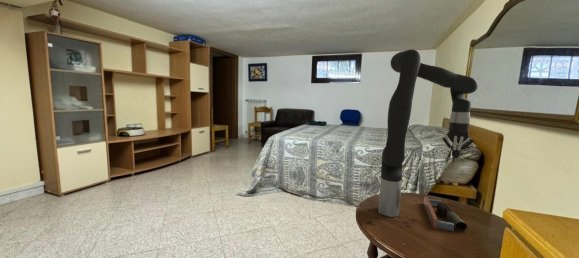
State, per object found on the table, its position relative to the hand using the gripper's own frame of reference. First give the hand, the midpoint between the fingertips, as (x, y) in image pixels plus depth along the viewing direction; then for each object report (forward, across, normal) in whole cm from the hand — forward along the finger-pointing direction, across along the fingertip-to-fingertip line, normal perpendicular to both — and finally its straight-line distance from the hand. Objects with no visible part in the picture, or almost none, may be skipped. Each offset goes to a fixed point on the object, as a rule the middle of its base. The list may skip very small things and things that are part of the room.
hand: (455, 157), depth 113 cm
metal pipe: (+28, -3, -11) cm, 30 cm away
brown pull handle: (+27, -6, -9) cm, 29 cm away
